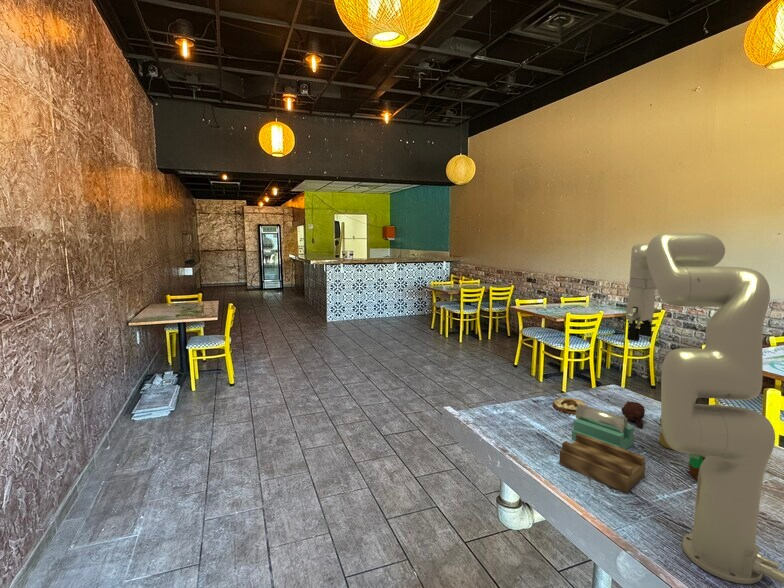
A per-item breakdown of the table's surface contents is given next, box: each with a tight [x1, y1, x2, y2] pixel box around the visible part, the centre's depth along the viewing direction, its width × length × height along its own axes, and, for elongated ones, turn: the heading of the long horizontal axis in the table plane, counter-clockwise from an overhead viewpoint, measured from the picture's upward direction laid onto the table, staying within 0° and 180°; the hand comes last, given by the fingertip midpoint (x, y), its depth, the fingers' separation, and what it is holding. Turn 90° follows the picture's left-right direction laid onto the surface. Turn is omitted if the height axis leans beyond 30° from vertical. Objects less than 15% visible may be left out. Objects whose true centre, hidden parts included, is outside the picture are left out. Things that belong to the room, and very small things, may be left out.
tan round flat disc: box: [552, 397, 588, 416], centre depth 157 cm, size 15×15×4 cm
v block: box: [571, 418, 635, 450], centre depth 130 cm, size 14×12×6 cm
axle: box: [575, 404, 629, 433], centre depth 130 cm, size 14×5×5 cm, turn 39°
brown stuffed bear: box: [621, 400, 646, 428], centre depth 146 cm, size 7×7×15 cm
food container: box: [688, 453, 707, 482], centre depth 111 cm, size 12×6×10 cm, turn 141°
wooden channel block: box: [558, 433, 647, 494], centre depth 114 cm, size 18×12×6 cm, turn 39°
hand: (639, 338), depth 129 cm, fingers open, 9 cm apart
